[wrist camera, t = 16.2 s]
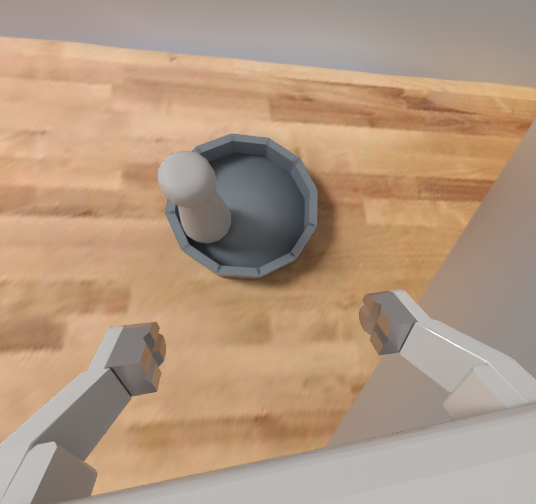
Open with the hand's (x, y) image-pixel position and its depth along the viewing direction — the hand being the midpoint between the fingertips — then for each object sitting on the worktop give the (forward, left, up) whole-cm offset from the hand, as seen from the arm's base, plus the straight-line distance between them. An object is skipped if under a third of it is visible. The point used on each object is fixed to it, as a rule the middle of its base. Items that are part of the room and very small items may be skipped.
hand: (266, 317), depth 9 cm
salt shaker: (+10, -5, -20) cm, 23 cm away
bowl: (+8, -10, -21) cm, 24 cm away
